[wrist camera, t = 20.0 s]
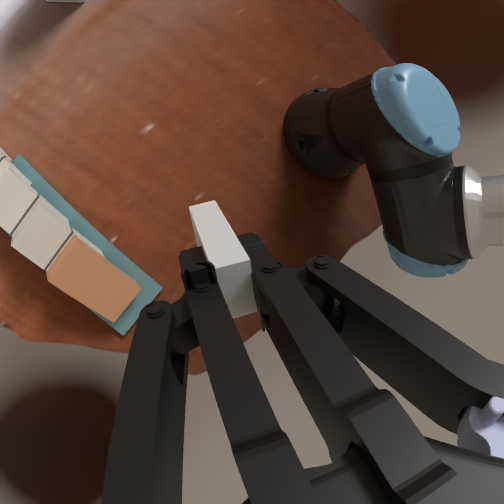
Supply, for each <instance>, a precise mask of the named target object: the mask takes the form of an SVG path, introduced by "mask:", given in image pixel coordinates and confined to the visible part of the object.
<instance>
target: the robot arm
mask: <svg viewBox="0 0 504 504" xmlns="http://www.w3.org/2000/svg"><path fill="white" fill-rule="evenodd" d="M459 129H460V121H459V116H458V113H457V109H456V107H455V104H454V102H453V100H452V98H451V96H450V94H449V93H448V91H447V90H446V88H445V87H444V86H443V84H442V83H441V82H440V81H439V80H438V79H437V78H436V77H434V76H433V75H432V73H430V72H429V71H428V70H426V69H424V68H423V67H420V66H418V65H415V64H410V63H403V64H398V65H395V66H392V67H386V68H381V69H379V70H378V71H376V72H375V73H373V74H371V75H368V76H366V77H364V78H361V79H359V80H357V81H355V82H352V83H350V84H348V85H346V86H344V87H342V88H317V89H313V90H310V91H308V92H306V93H304V94H302V95H300V96H299V97H297V98H296V99H295V100H294V101H293V102H292V104H291V105H290V107H289V109H288V111H287V113H286V117H285V124H284V131H285V138H286V142H287V145H288V148H289V150H290V152H291V154H292V155H293V157H294V159H295V160H296V161H297V162H298V164H299V165H300V166H301V167H302V168H303V169H305V170H306V171H307V172H309V173H311V174H312V175H315V176H317V177H321V178H339V177H344V176H346V175H349V174H351V173H352V172H354V171H355V170H356V169H357V168H358V167H359V166H362V165H364V164H365V163H366V166H367V169H368V172H369V175H370V179H371V183H372V187H373V190H374V194H375V198H376V201H377V205H378V209H379V213H380V217H381V221H382V225H383V230H384V231H383V235H384V238H385V240H386V242H387V244H388V248H389V252H390V255H391V258H392V260H393V261H394V262H395V263H396V265H397V266H398V267H399V268H400V269H402V270H404V271H406V272H408V273H410V274H412V275H416V276H421V277H443V276H446V273H449V274H454V273H456V272H458V271H460V270H461V269H462V268H463V267H464V266H465V265H466V263H467V261H468V259H476V258H478V257H479V256H480V255H481V253H482V252H483V251H484V250H485V249H486V248H487V247H489V246H504V174H502V175H491V176H481V175H479V174H478V173H477V172H476V171H474V170H473V169H472V168H471V167H470V166H460V167H455V166H454V164H453V161H452V156H451V153H452V152H453V151H454V150H455V149H456V147H457V146H458V144H459V141H460V133H459V131H458V130H459ZM189 210H190V215H191V220H192V224H193V229H194V233H195V238H196V242H197V246H198V247H195V248H191V249H187V250H183V251H181V253H180V255H179V257H178V258H179V262H180V266H181V277H182V280H183V284H184V287H185V293H184V295H183V296H182V297H181V298H180V299H179V300H177V301H176V302H174V303H172V304H170V303H169V302H166V301H159V300H158V301H154V302H151V303H149V304H147V305H146V306H144V307H143V308H142V310H141V311H140V313H139V317H138V321H137V324H136V328H135V332H134V336H133V340H132V344H131V348H130V352H129V356H128V360H127V364H126V368H125V373H124V377H123V381H122V386H121V390H120V395H119V400H118V405H117V409H116V415H115V420H114V425H113V430H112V436H111V442H110V447H109V453H108V459H107V467H106V473H105V480H104V487H103V495H102V503H101V504H182V472H183V444H184V423H185V405H186V389H187V375H188V362H189V353H188V352H189V351H191V350H192V349H194V348H196V347H197V346H199V345H200V347H201V351H202V354H203V358H204V361H205V365H206V368H207V372H208V375H209V378H210V382H211V385H212V388H213V392H214V395H215V398H216V401H217V405H218V408H219V411H220V414H221V417H222V420H223V423H224V426H225V429H226V432H227V435H228V438H229V441H230V444H231V447H232V452H233V455H234V458H235V461H236V464H237V467H238V470H239V472H240V475H241V478H242V481H243V483H244V486H245V489H246V491H247V494H248V496H249V498H247V499H246V500H245V501H244V502H243V503H242V504H504V365H503V364H500V363H497V362H494V361H491V360H488V359H486V358H485V357H483V356H482V355H481V354H479V353H478V352H476V351H475V350H473V349H472V348H470V347H469V346H468V345H466V344H465V343H463V342H462V341H460V340H459V339H457V338H456V337H454V336H453V335H452V334H450V333H449V332H447V331H445V330H444V329H442V328H441V327H440V326H438V325H437V324H435V323H434V322H432V321H431V320H429V319H428V318H426V317H425V316H423V315H422V314H420V313H419V312H417V311H416V310H414V309H413V308H411V307H410V306H408V305H407V304H405V303H404V302H402V301H400V300H399V299H397V298H396V297H394V296H393V295H391V294H390V293H388V292H386V291H385V290H384V289H382V288H380V287H379V286H377V285H376V284H374V283H373V282H371V281H370V280H368V279H366V278H365V277H363V276H362V275H360V274H358V273H357V272H355V271H354V270H352V269H351V268H349V267H347V266H346V265H344V264H343V263H341V262H339V261H338V260H336V259H335V258H333V257H330V256H327V255H316V256H313V257H311V258H309V259H308V260H307V262H306V267H288V266H287V265H286V264H285V263H284V262H283V261H281V260H278V259H275V258H274V257H273V255H272V254H271V253H270V251H269V250H268V248H267V247H266V246H265V244H264V243H263V242H262V240H261V239H260V237H259V236H258V235H256V234H253V233H251V232H250V233H246V234H242V235H238V236H236V235H235V233H234V232H233V230H232V228H231V227H230V225H229V223H228V222H227V220H226V218H225V217H224V215H223V213H222V212H221V210H220V208H219V207H218V205H217V203H216V201H215V200H214V201H210V202H206V203H202V204H197V205H193V206H189ZM336 300H337V301H336ZM338 301H339V302H340V303H339V302H338ZM256 304H257V306H258V307H259V309H260V316H261V324H262V330H263V331H265V328H266V330H267V332H268V334H269V336H270V338H271V340H272V342H273V343H274V345H275V347H276V349H277V351H278V353H279V355H280V357H281V359H282V361H283V363H284V365H285V367H286V368H287V370H288V372H289V374H290V376H291V378H292V380H293V382H294V384H295V386H296V388H297V389H298V391H299V393H300V395H301V397H302V399H303V401H304V403H305V405H306V406H307V408H308V410H309V412H310V414H311V416H312V418H313V420H314V422H315V424H316V425H317V427H318V429H319V431H320V433H321V435H322V437H323V438H324V440H325V442H326V444H327V446H328V450H329V454H330V458H331V461H332V463H331V464H329V465H324V466H319V467H313V468H306V469H303V467H302V464H301V462H300V460H299V458H298V457H297V454H296V452H295V450H294V448H293V446H292V444H291V442H290V440H289V438H288V436H287V435H286V433H285V432H283V431H282V429H281V428H280V426H279V424H278V421H277V419H276V417H275V415H274V413H273V410H272V408H271V406H270V404H269V402H268V399H267V397H266V395H265V393H264V390H263V388H262V386H261V384H260V381H259V379H258V377H257V375H256V372H255V370H254V368H253V365H252V363H251V361H250V359H249V356H248V354H247V352H246V349H245V347H244V344H243V342H242V340H241V337H240V335H239V332H238V330H237V328H236V325H235V323H234V320H233V319H234V318H237V317H241V316H244V315H248V314H251V313H254V312H257V306H256ZM352 354H353V355H354V356H355V357H356V358H357V359H359V360H360V361H361V362H362V363H364V364H365V365H366V366H367V367H368V368H369V369H371V370H372V371H373V372H374V373H375V374H377V375H378V376H379V377H380V378H381V379H383V380H384V381H385V382H386V383H388V384H389V385H390V386H391V387H392V388H393V389H395V390H396V391H397V392H398V393H400V394H401V395H402V396H403V397H404V398H405V399H407V400H408V401H409V402H410V403H412V404H413V405H414V406H415V407H416V408H418V409H419V410H420V411H422V413H424V414H425V415H426V416H427V417H429V418H430V419H431V420H433V421H434V422H435V423H437V424H438V425H439V426H441V427H443V428H445V429H447V430H448V431H450V432H453V433H455V434H457V435H458V440H457V444H458V446H454V445H450V444H447V443H444V442H440V441H437V440H434V439H431V438H428V437H425V436H423V435H422V433H421V432H420V431H419V429H418V428H417V427H416V425H415V424H414V422H413V421H412V420H411V418H410V417H409V415H408V414H407V413H406V411H405V410H404V409H403V407H402V406H401V404H400V403H399V402H398V400H397V399H396V398H395V396H394V395H393V394H392V393H391V392H390V391H388V390H386V389H381V390H380V389H378V388H377V387H376V386H375V385H374V384H373V382H372V381H371V380H370V378H369V377H368V375H367V374H366V373H365V371H364V370H363V369H362V367H361V366H360V364H359V363H358V362H357V360H356V359H355V357H354V356H353V355H352ZM468 449H469V450H468Z"/></svg>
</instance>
